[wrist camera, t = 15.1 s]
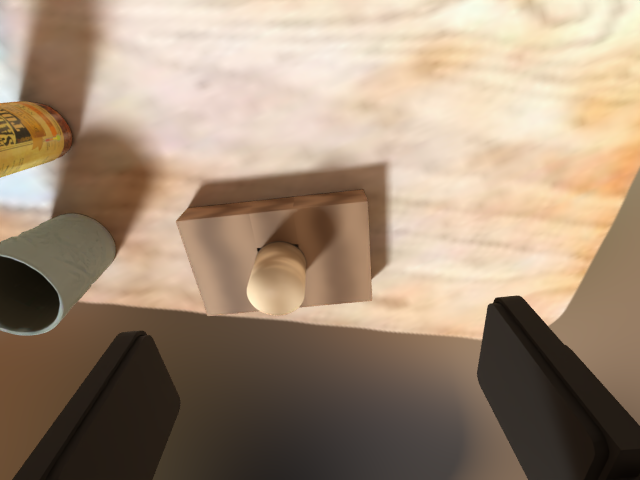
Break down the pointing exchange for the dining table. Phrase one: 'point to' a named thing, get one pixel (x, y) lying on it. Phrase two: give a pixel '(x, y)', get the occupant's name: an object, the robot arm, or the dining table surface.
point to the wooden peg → (277, 279)
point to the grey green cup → (50, 271)
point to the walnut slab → (280, 225)
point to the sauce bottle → (30, 136)
